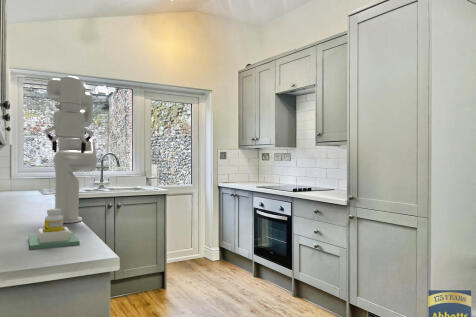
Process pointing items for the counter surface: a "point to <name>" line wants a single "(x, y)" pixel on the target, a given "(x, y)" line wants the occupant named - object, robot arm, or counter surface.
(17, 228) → the counter surface
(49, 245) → the board
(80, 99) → the robot arm
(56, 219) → the supplement bottle
